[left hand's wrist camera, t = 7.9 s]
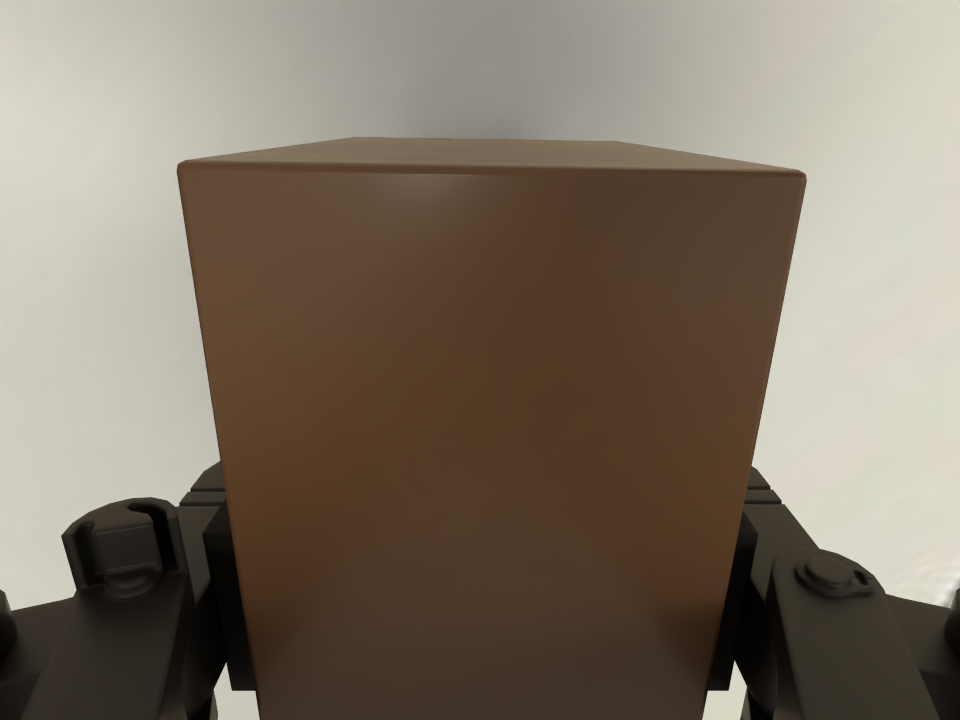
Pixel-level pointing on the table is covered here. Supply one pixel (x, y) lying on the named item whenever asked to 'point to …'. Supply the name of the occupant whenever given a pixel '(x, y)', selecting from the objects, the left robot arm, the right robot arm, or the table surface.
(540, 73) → the table surface
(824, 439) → the table surface
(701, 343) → the beam
